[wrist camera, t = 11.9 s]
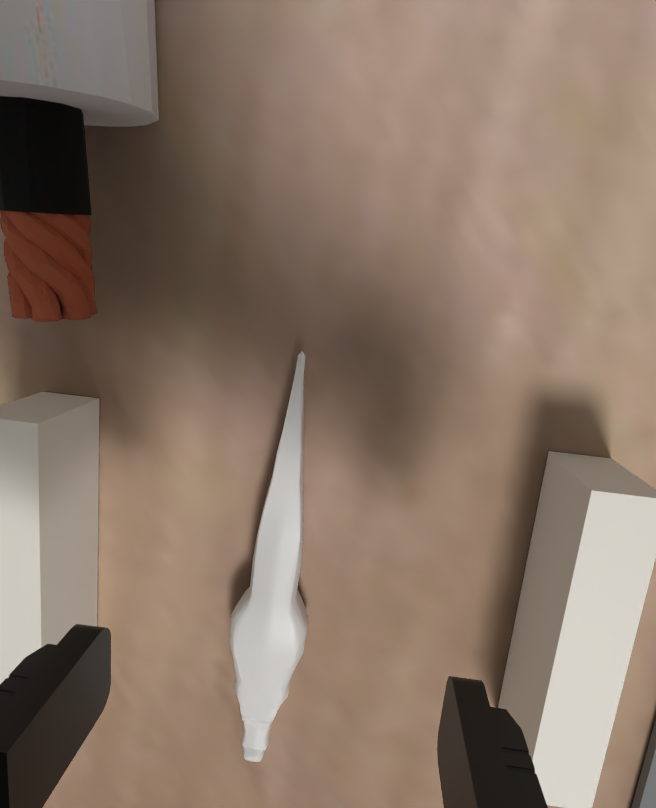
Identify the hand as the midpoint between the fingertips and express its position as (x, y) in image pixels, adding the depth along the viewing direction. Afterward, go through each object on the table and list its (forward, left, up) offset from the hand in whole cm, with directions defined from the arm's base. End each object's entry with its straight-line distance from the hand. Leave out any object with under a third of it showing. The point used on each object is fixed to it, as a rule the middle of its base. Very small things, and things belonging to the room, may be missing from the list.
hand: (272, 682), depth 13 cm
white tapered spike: (-1, 0, -7) cm, 7 cm away
